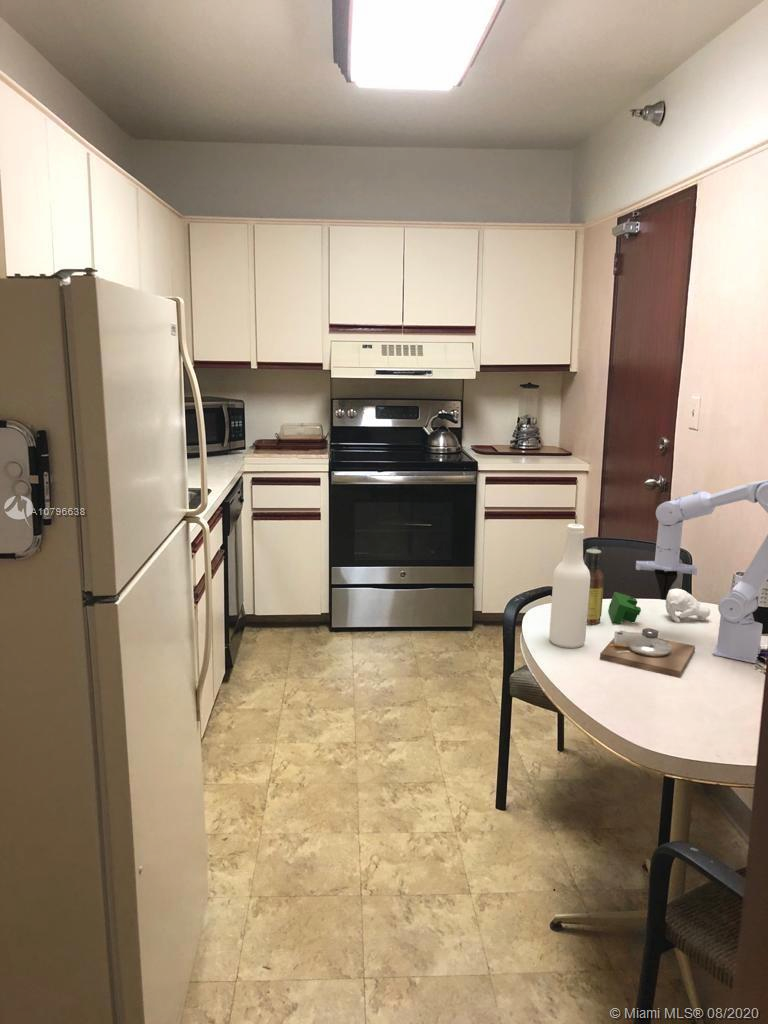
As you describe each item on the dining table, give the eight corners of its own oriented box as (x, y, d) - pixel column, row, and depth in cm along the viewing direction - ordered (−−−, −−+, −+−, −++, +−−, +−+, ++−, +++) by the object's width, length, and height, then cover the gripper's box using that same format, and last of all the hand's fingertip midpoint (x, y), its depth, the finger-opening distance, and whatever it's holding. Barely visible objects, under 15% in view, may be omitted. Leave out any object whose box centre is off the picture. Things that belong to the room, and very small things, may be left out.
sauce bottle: (582, 615, 206) (588, 545, 202) (604, 620, 203) (610, 550, 198) (572, 621, 202) (577, 550, 197) (594, 627, 198) (600, 554, 194)
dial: (664, 641, 184) (666, 624, 183) (676, 657, 174) (678, 639, 173) (610, 638, 185) (611, 621, 184) (619, 654, 175) (620, 636, 174)
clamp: (629, 639, 202) (641, 615, 197) (607, 632, 203) (619, 608, 197) (629, 609, 211) (641, 586, 206) (608, 603, 212) (620, 580, 207)
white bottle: (553, 648, 183) (562, 529, 176) (545, 635, 191) (553, 521, 185) (589, 649, 183) (599, 529, 177) (579, 635, 192) (588, 521, 185)
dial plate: (694, 651, 183) (695, 645, 182) (679, 677, 168) (680, 670, 167) (620, 635, 192) (620, 629, 192) (599, 659, 177) (600, 652, 177)
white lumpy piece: (665, 584, 207) (709, 590, 206) (659, 613, 209) (703, 619, 208) (671, 591, 201) (717, 598, 200) (665, 621, 202) (710, 628, 202)
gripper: (639, 548, 188) (634, 600, 190) (701, 553, 184) (695, 606, 187) (637, 542, 194) (632, 592, 197) (696, 546, 191) (691, 597, 194)
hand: (662, 598), depth 193 cm, fingers closed
